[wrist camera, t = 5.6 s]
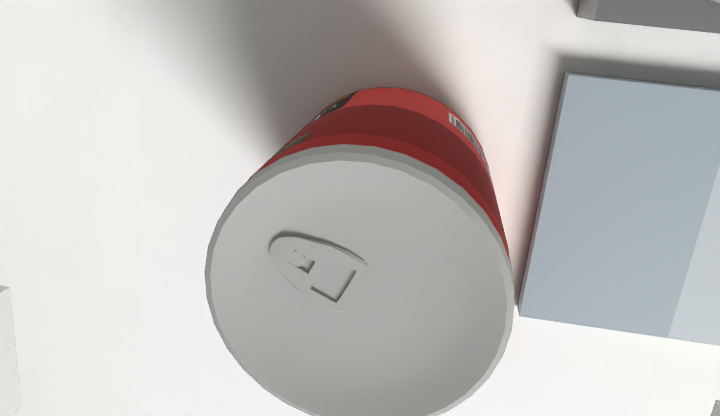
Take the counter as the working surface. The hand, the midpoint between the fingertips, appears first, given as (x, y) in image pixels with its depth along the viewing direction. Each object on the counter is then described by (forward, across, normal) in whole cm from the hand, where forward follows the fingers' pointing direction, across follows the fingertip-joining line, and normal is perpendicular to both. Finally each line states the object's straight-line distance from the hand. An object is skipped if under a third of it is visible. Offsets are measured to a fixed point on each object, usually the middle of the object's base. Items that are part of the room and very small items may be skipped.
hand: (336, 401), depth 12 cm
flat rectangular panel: (+15, +15, 0) cm, 21 cm away
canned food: (+15, 0, 0) cm, 15 cm away
